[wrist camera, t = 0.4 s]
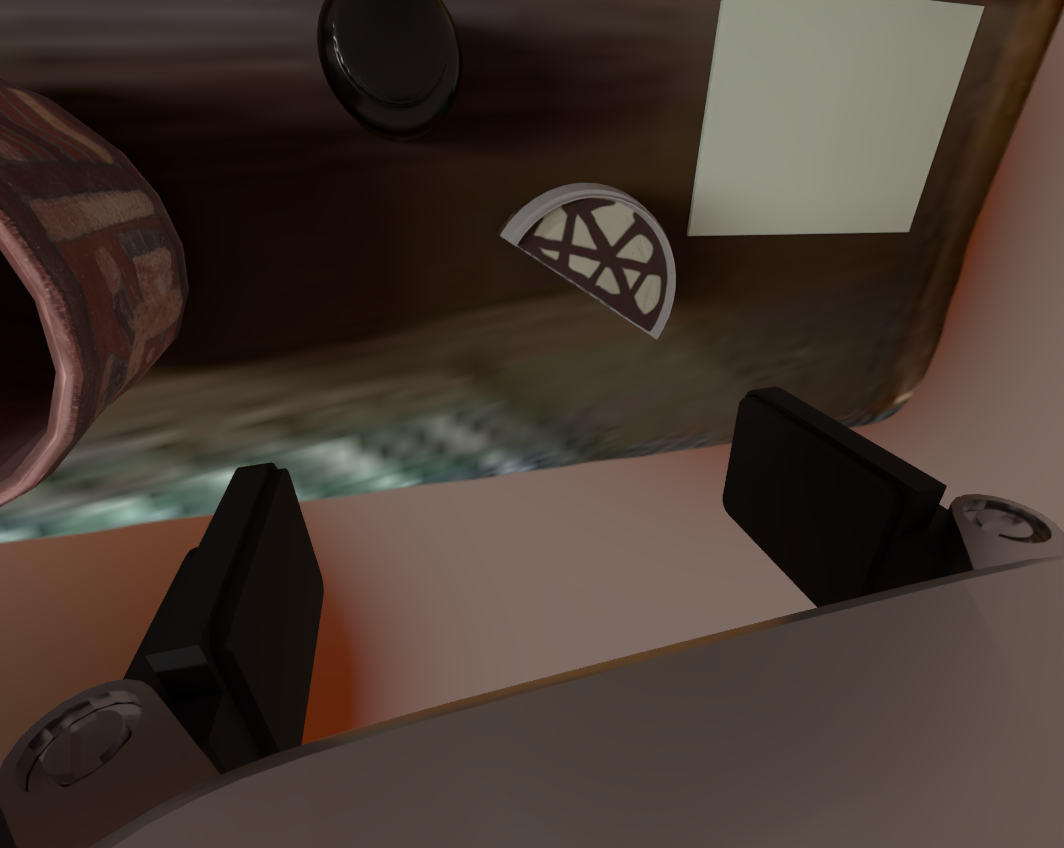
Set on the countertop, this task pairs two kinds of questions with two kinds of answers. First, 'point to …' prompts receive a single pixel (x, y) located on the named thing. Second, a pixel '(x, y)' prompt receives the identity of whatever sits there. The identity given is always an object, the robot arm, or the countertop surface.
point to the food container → (601, 249)
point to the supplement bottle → (391, 63)
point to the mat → (825, 113)
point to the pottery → (74, 283)
